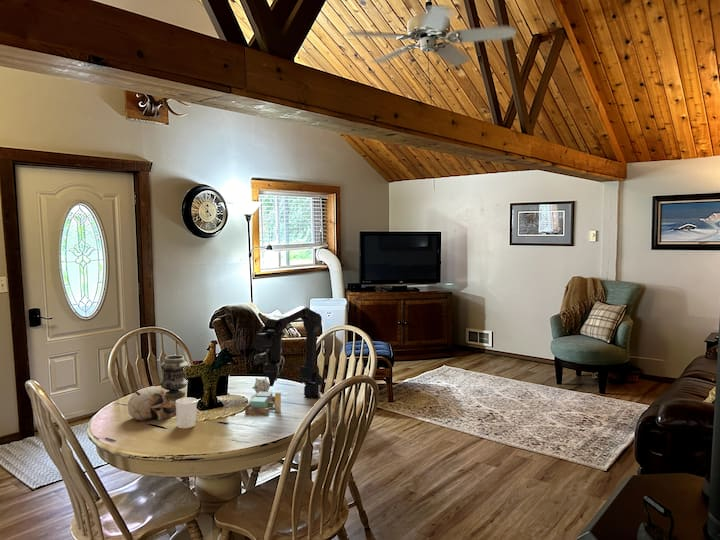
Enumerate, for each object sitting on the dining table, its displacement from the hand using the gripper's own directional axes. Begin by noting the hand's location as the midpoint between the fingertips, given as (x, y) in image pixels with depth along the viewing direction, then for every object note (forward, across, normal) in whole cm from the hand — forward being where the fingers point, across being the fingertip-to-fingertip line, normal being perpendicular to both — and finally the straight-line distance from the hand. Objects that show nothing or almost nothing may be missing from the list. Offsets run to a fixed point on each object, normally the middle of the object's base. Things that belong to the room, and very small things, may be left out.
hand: (273, 383), depth 219 cm
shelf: (+12, -5, -5) cm, 14 cm away
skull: (+13, +9, -47) cm, 50 cm away
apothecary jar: (+13, -20, -50) cm, 55 cm away
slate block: (+12, -9, -5) cm, 16 cm away
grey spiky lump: (+12, -23, -9) cm, 28 cm away
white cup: (+13, +18, -31) cm, 38 cm away
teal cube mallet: (+12, -1, -3) cm, 13 cm away
